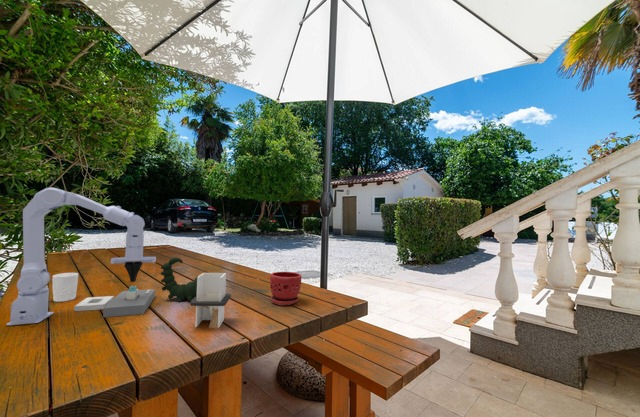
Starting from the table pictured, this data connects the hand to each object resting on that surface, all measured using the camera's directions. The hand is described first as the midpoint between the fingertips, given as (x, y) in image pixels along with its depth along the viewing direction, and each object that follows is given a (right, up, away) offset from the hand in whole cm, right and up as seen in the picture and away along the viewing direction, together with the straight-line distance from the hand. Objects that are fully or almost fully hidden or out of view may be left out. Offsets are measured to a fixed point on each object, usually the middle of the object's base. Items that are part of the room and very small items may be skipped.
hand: (133, 281), depth 110 cm
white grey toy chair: (+36, -11, -15) cm, 40 cm away
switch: (0, -9, 0) cm, 9 cm away
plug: (0, -9, 0) cm, 9 cm away
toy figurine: (+19, -10, +9) cm, 23 cm away
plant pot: (+58, -12, +10) cm, 60 cm away
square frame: (-14, -9, -1) cm, 17 cm away
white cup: (-31, -9, +5) cm, 33 cm away
